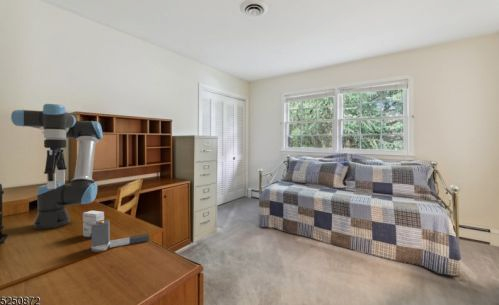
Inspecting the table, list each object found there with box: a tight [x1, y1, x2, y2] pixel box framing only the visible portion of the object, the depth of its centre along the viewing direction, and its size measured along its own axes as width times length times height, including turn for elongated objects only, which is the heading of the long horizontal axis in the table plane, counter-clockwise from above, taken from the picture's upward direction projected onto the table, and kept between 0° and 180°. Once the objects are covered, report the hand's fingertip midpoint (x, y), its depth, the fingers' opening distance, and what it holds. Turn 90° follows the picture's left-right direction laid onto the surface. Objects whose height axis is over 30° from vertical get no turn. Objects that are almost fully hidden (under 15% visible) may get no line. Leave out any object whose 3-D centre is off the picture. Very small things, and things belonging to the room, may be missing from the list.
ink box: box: [82, 210, 105, 238], centre depth 111 cm, size 8×5×12 cm, turn 74°
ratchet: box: [91, 233, 150, 253], centre depth 101 cm, size 22×7×6 cm, turn 118°
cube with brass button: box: [91, 218, 111, 248], centre depth 97 cm, size 6×6×9 cm
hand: (56, 186), depth 100 cm, fingers open, 13 cm apart
